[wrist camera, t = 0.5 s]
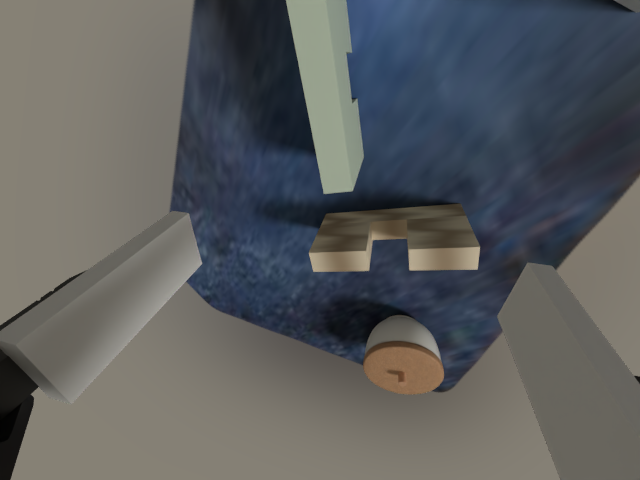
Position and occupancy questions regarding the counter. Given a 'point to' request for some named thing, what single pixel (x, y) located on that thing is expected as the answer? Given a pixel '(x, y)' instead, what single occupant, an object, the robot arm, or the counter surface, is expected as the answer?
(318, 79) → the sage plate
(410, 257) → the beech u-shaped block
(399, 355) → the lidded jar
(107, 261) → the robot arm
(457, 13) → the counter surface
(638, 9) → the jar
